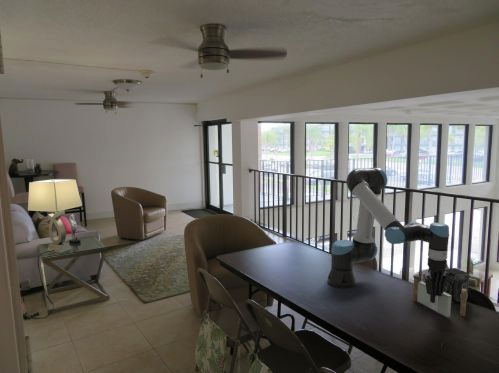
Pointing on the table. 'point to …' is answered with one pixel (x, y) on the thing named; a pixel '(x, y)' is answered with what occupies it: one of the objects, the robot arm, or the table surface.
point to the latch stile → (463, 302)
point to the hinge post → (415, 287)
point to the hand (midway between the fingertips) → (434, 308)
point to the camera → (456, 284)
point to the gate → (443, 303)
